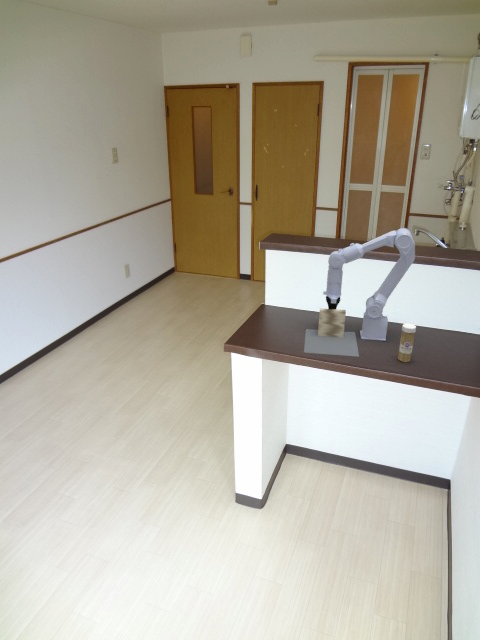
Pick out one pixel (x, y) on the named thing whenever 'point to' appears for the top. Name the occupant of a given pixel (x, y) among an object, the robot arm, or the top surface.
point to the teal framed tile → (331, 322)
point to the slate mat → (331, 344)
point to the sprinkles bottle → (406, 342)
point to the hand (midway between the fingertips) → (331, 314)
